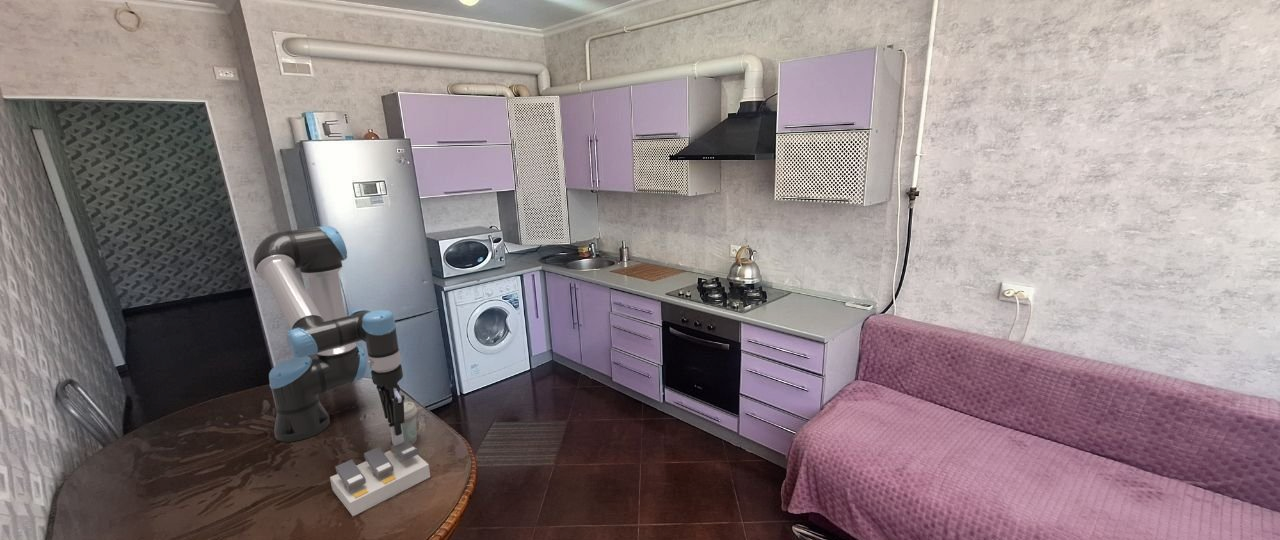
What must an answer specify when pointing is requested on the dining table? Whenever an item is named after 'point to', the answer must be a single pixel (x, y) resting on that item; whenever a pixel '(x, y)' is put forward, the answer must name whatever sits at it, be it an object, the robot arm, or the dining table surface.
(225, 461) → the dining table surface
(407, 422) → the coffee cup
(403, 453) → the switch
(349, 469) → the switch
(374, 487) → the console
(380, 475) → the switch
